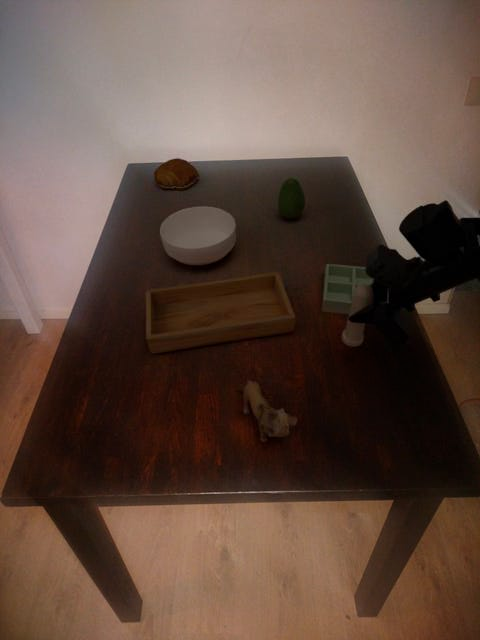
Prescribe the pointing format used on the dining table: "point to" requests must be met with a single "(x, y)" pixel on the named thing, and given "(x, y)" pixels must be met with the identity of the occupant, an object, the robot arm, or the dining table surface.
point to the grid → (342, 286)
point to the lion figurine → (266, 413)
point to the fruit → (291, 199)
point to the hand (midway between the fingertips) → (350, 313)
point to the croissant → (175, 174)
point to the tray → (217, 312)
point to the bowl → (198, 235)
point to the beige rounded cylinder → (360, 301)
